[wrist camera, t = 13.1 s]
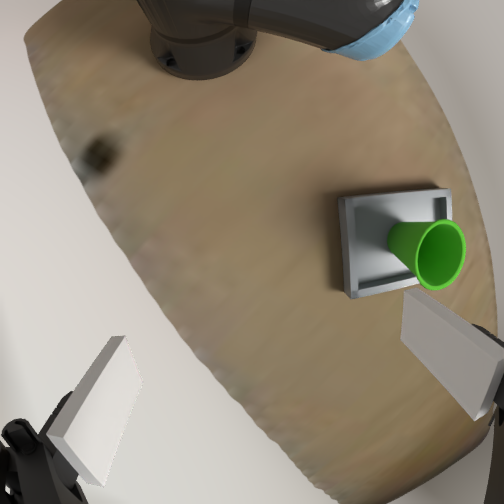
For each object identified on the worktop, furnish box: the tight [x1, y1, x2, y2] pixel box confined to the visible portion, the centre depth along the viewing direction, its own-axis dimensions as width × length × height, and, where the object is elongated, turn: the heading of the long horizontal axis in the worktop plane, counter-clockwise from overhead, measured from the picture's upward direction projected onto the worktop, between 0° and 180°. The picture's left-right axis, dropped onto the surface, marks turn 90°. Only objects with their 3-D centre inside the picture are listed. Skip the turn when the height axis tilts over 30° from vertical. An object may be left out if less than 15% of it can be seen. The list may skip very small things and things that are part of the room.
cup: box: [387, 219, 466, 290], centre depth 35 cm, size 9×9×11 cm
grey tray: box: [337, 188, 452, 299], centre depth 40 cm, size 14×19×3 cm
